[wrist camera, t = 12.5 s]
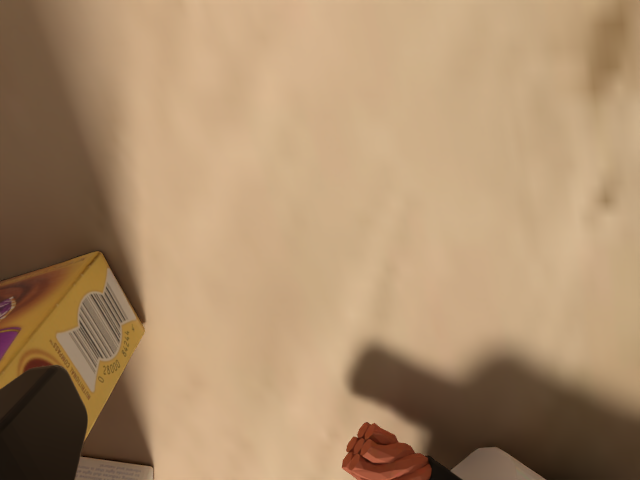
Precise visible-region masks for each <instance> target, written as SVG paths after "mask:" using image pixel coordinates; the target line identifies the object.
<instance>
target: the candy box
mask: <svg viewBox="0 0 640 480" xmlns="http://www.w3.org/2000/svg"><path fill="white" fill-rule="evenodd" d="M144 332H145V329H144V327H143V325H142V323H141V321H140V320H139V318H138V316H137V314H136V313H135V311H134V309H133V308H132V306H131V304H130V302H129V300H128V298H127V297H126V295H125V293H124V292H123V290H122V288H121V287H120V285H119V283H118V281H117V280H116V278H115V276H114V275H113V273H112V271H111V269H110V267H109V265H108V263H107V261H106V260H105V258H104V256H103V254H102V253H101V252H98V251H96V252H92V253H89V254H86V255H83V256H79V257H76V258H74V259H71V260H68V261H65V262H63V263H59V264H55V265H52V266H49V267H46V268H43V269H40V270H36V271H33V272H30V273H26V274H24V275H20V276H17V277H13V278H10V279H7V280H3V281H0V389H1V388H3V387H4V386H5V385H7V384H8V383H10V382H11V381H13V380H14V379H15V378H17V377H18V376H20V375H21V374H22V373H24V372H25V371H27V370H29V369H31V368H34V367H41V366H49V365H60V366H63V367H64V368H65V369H66V370H67V371H68V373H69V375H70V377H71V379H72V381H73V383H74V385H75V387H76V389H77V391H78V393H79V395H80V397H81V399H82V401H83V403H84V405H85V407H86V410H87V414H88V426H87V431H86V435H85V439H86V438H87V436H88V434H89V432H90V431H91V429H92V427H93V425H94V423H95V422H96V420H97V418H98V416H99V414H100V412H101V410H102V409H103V407H104V405H105V403H106V401H107V400H108V398H109V396H110V394H111V393H112V391H113V389H114V387H115V385H116V383H117V381H118V379H119V378H120V376H121V374H122V372H123V370H124V369H125V367H126V365H127V363H128V361H129V359H130V357H131V356H132V354H133V352H134V350H135V349H136V347H137V345H138V343H139V342H140V340H141V338H142V336H143V334H144ZM85 439H84V441H85Z"/></svg>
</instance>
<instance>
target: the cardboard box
mask: <svg viewBox="0 0 640 480" xmlns="http://www.w3.org/2000/svg"><path fill="white" fill-rule="evenodd" d="M75 480H153V468H152V467H151V466H145V465H137V464H130V463H122V462H116V461H109V460H102V459H95V458H87V457H80V461H79V465H78V469H77V473H76V477H75Z"/></svg>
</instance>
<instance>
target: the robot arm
mask: <svg viewBox="0 0 640 480" xmlns="http://www.w3.org/2000/svg"><path fill="white" fill-rule="evenodd" d="M87 426H88V414H87V410H86V407H85V405H84V403H83V401H82V399H81V397H80V395H79V393H78V391H77V389H76V387H75V385H74V383H73V381H72V379H71V377H70V375H69V373H68V371H67V370H66V369H65V368H64V367H63V366H60V365H49V366H41V367H34V368H31V369H29V370H27V371H25V372H24V373H22V374H21V375H20V376H18V377H17V378H15V379H14V380H13V381H11V382H10V383H8V384H7V385H5V386H4V387H3V388H1V389H0V480H75V477H76V473H77V469H78V465H79V461H80V456H81V452H82V448H83V444H84V439H85V435H86V431H87Z"/></svg>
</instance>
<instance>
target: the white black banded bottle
mask: <svg viewBox="0 0 640 480" xmlns="http://www.w3.org/2000/svg"><path fill="white" fill-rule="evenodd" d="M357 436H358V438H357V437H353V438H352V439H351V441H350V442H349V443H348V445H347V449H346V451H347V452H349V453H348V454H347V455H346V457H345V458H344V460H343V464H342V468H343V469H344V470H345V471H347V472H348V473H349V474H351V475H352V476H353V477H355V478H356V479H357V480H546V479H544V478H543V477H541V476H540V475H538V474H537V473H535V472H534V471H532V470H531V469H529V468H528V467H527V466H525V465H524V464H522V463H521V462H519V461H518V460H516V459H515V458H513V457H512V456H510V455H509V454H507V453H506V452H504V451H503V450H501V449H499V448H497V447H486V448H478V449H476V450H475V451H474V452H472V453H471V454H470V455H469V456H468V457H466V458H465V459H464V460H463V461H461V462H460V463H459V464H458V465H457V466H455V467H454V468H453V469H452V470H448V469H447V468H445V467H444V466H442V465H441V464H440V463H438V462H437V461H435V460H434V459H433V458H431V457H430V456H424V455H422V454H421V453H417V454H415V452H414V450H413V449H412V447H411V446H410V445H408V444H406V443H399V442H398V440H397V438H396V436H395V435H394V434H392V433H390V432H388V431H386V430H384V429H382V428H380V427H379V426H377V425H376V424H375V423H374V424H372V425H371V424H369V423H368V422H366V423H364V424H363V425H362V427H361V428H360V429H359V432H358V434H357Z"/></svg>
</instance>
